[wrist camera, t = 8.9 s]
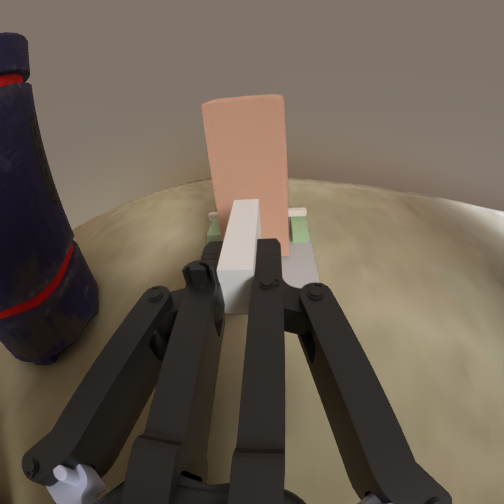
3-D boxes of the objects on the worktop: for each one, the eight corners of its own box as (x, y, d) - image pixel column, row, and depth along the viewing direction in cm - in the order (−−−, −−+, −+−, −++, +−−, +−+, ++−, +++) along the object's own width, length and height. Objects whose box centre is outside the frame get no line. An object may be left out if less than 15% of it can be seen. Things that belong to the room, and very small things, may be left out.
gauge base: (302, 213, 31) (303, 197, 30) (322, 310, 19) (325, 291, 18) (218, 216, 32) (216, 201, 31) (190, 312, 20) (183, 294, 19)
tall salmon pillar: (305, 225, 27) (304, 93, 19) (311, 255, 23) (313, 97, 15) (212, 229, 28) (192, 102, 20) (203, 259, 24) (173, 109, 16)
